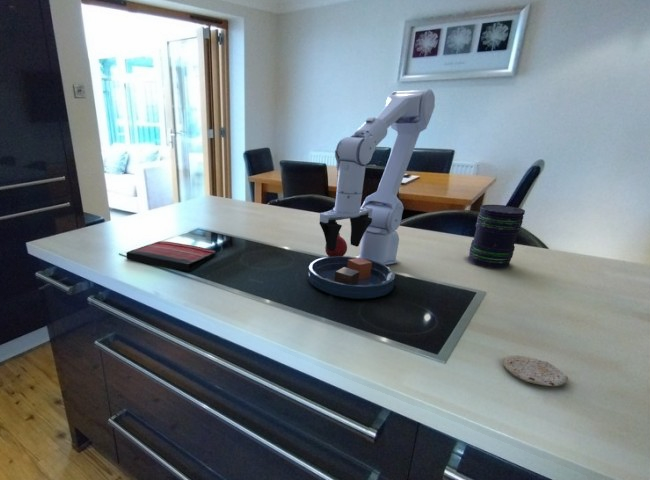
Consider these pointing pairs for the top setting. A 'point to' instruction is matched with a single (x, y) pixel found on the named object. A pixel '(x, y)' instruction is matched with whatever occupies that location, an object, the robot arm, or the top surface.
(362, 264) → the terracotta block
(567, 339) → the top surface
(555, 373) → the flatbread
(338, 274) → the walnut block
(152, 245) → the binder
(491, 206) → the storage jar
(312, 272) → the bowl
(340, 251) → the onion
